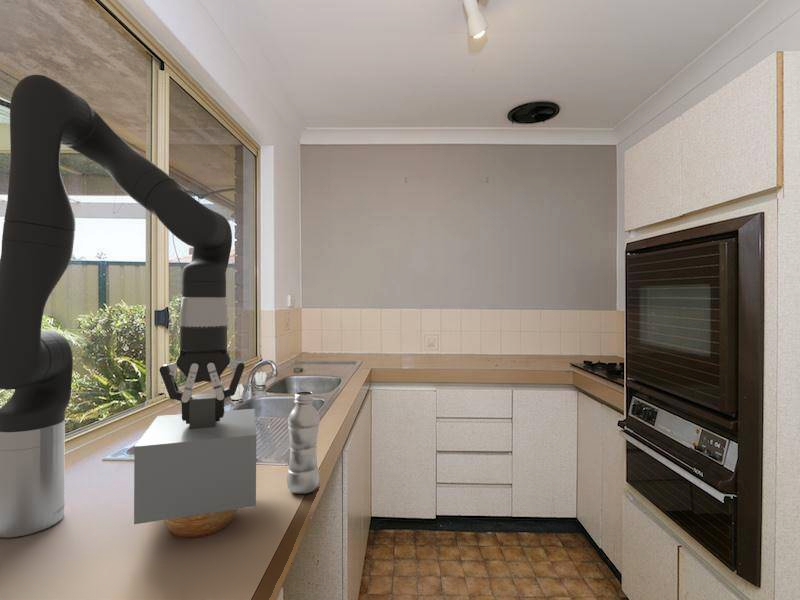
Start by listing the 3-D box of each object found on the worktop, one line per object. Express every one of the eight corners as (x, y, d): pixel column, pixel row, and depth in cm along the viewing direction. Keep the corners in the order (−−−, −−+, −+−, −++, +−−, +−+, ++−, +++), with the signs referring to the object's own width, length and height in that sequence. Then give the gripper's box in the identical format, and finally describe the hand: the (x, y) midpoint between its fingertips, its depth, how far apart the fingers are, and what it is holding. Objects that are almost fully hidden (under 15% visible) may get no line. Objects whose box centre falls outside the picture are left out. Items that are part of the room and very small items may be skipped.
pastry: (235, 504, 82) (237, 457, 83) (241, 534, 72) (243, 480, 72) (164, 515, 77) (167, 465, 77) (159, 549, 66) (162, 491, 67)
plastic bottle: (305, 480, 92) (306, 388, 92) (325, 490, 87) (326, 393, 87) (279, 491, 87) (280, 393, 87) (300, 501, 82) (301, 398, 82)
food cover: (134, 524, 63) (134, 413, 63) (157, 477, 80) (157, 389, 79) (255, 506, 69) (256, 404, 69) (254, 466, 85) (254, 383, 85)
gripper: (153, 325, 68) (152, 432, 68) (247, 324, 73) (246, 423, 73) (162, 322, 75) (161, 419, 75) (247, 321, 80) (246, 412, 80)
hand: (203, 421), depth 74 cm, fingers closed on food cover, 4 cm apart
